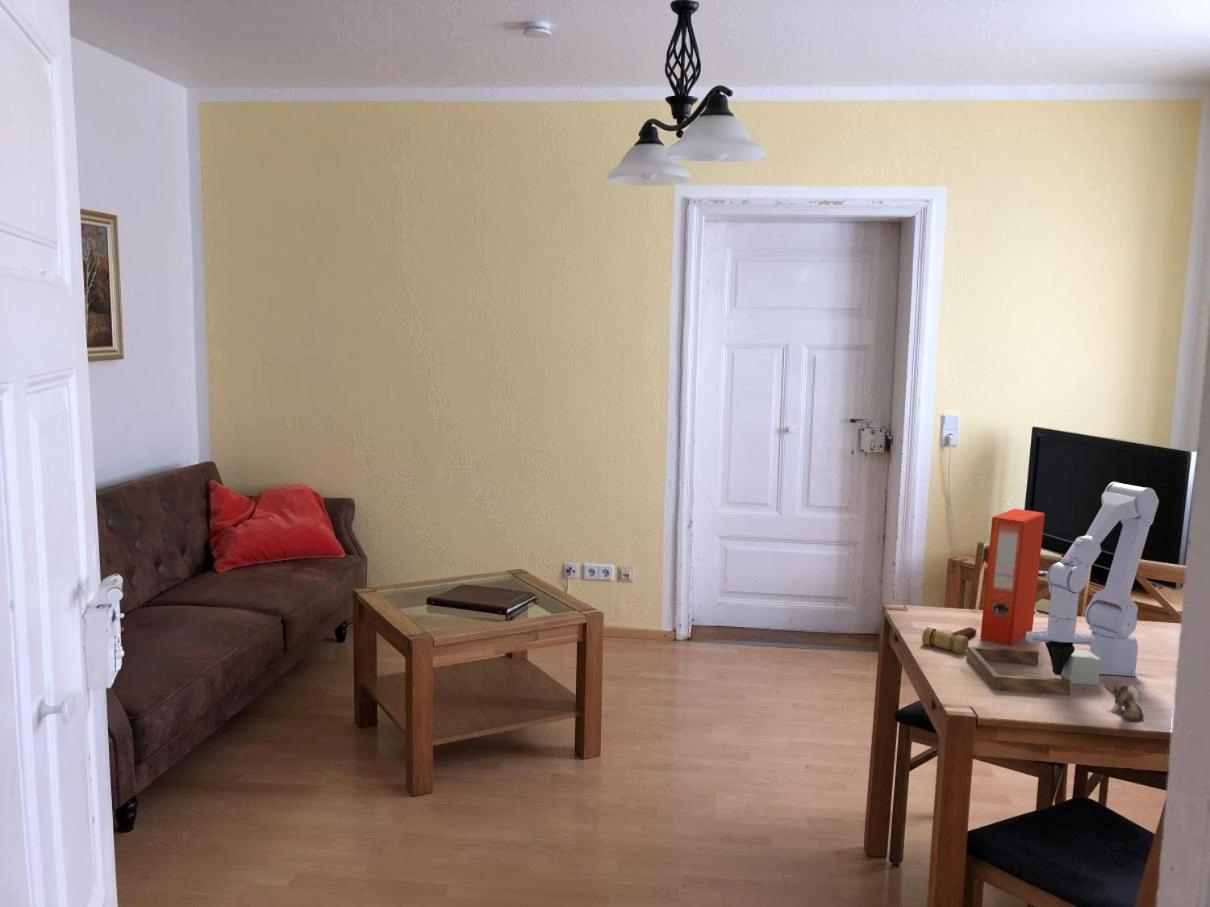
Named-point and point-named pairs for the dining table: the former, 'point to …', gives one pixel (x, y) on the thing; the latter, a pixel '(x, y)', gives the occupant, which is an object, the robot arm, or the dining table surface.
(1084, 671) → the cube
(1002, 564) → the file binder
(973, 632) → the gavel
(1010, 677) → the wooden frame
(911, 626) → the dining table surface
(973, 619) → the dining table surface
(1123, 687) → the eagle figurine
